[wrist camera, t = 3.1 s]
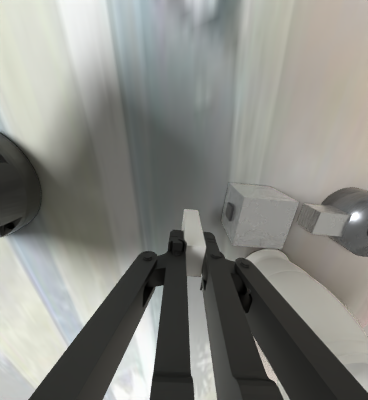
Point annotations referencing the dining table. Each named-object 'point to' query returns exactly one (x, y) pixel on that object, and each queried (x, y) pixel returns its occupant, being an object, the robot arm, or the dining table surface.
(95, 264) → the dining table surface
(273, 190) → the grey cube
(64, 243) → the dining table surface
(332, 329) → the jar
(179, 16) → the dining table surface
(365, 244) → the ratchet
